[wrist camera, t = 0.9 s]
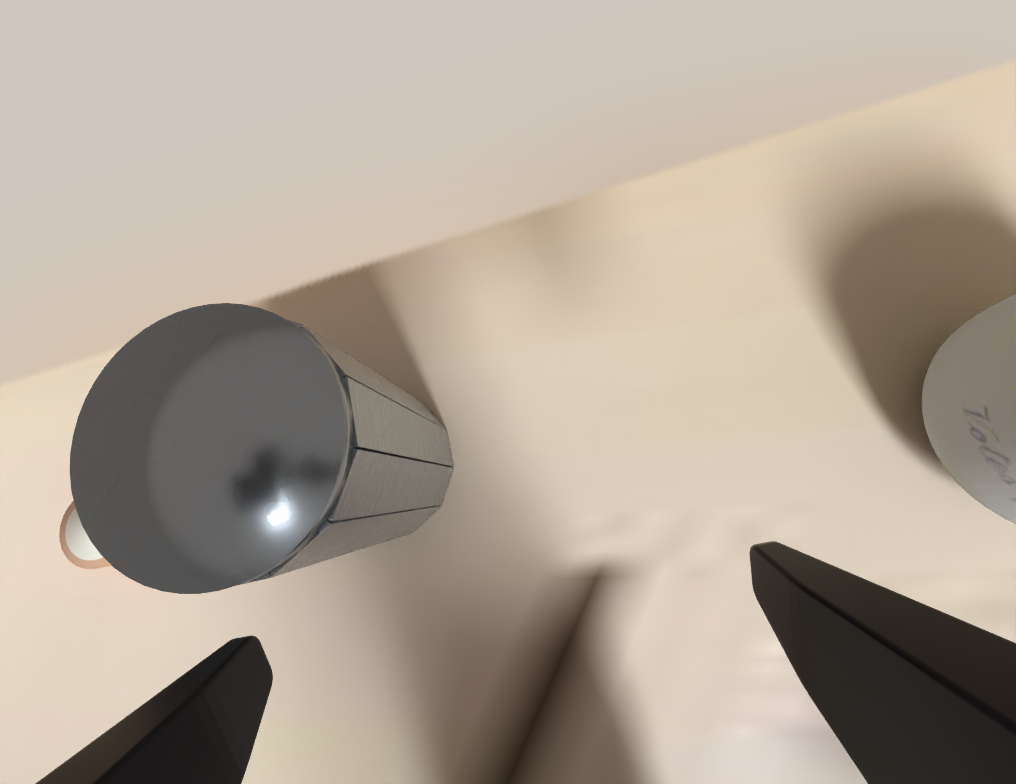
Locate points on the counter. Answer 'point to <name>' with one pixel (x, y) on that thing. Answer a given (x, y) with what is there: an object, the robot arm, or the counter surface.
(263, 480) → the steel cup
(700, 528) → the counter surface
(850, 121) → the counter surface
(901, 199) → the counter surface
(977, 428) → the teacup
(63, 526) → the terracotta bowl
